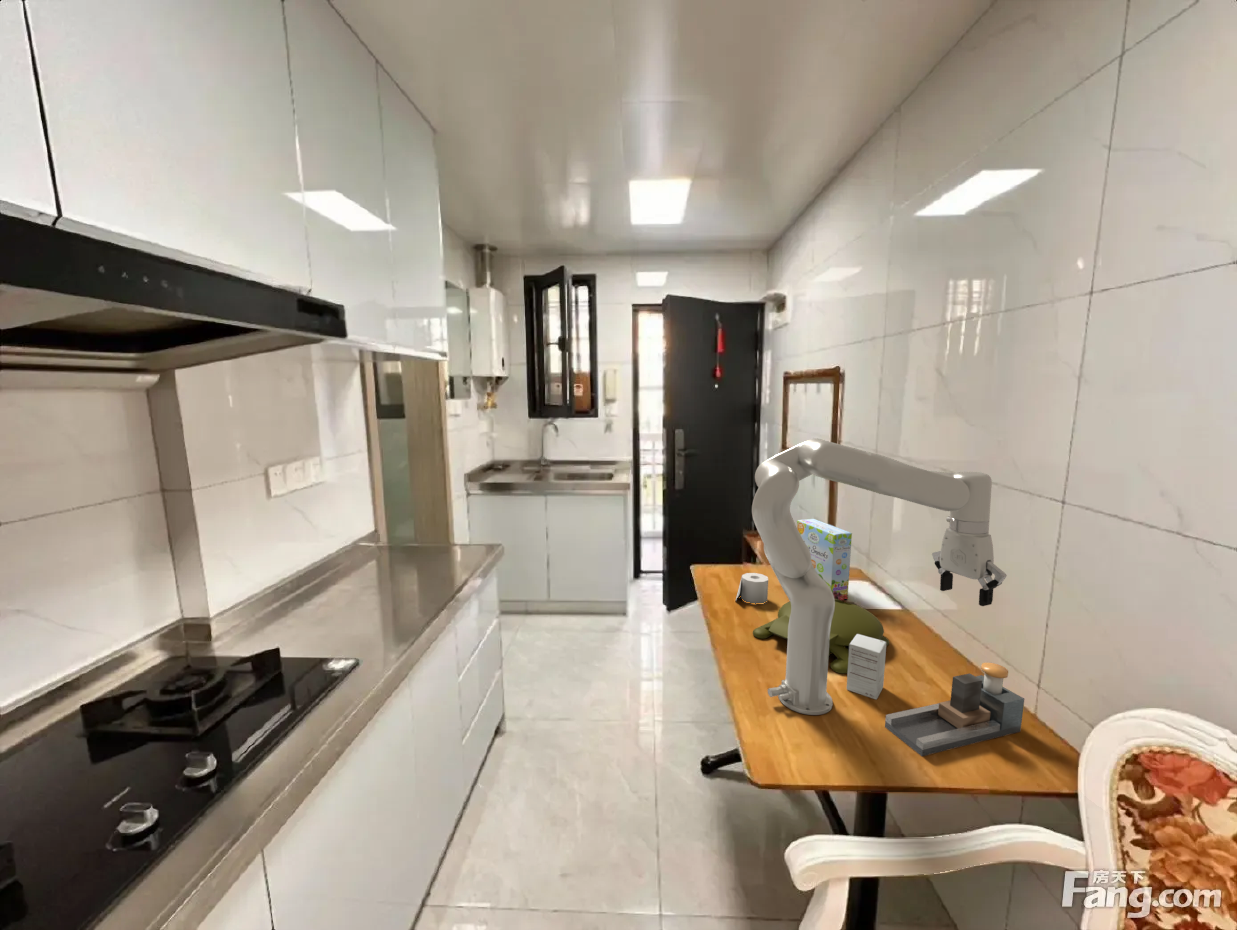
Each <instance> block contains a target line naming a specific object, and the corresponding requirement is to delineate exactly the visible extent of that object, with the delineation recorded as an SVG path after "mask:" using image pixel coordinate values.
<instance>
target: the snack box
mask: <svg viewBox="0 0 1237 930" xmlns="http://www.w3.org/2000/svg"><path fill="white" fill-rule="evenodd" d="M796 522H797V523H796V527H797V529H798V531H799V533H800V535H801V537H802V539H803V541H804V542H805V544H806V545H807V547H808V549H809V551H810V554H811V563H812V565H813V567H814V569H815V570H816V572H817V573H818V575H819V576H820V577H821V578H822V579H823V580H824V581H825V582H826V583H827V585H828V586H829V587H830V589H831V591H832V593H833V595H834V599H838V600H842V601H845V600H844V599H848V597H849V583H850V570H851V569H850V568H851V566H850V565H851V553H852V538H853V533H852V532H851V531H848V530H846V529H845V530H844V529H842V528H840V527H837V526H834V525H833V524H830V523H826V522H823V521H821V520H817V519H815V518H809V519H808V518H807V519H798V520H796ZM848 600H849V599H848Z"/></svg>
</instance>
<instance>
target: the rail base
mask: <svg viewBox="0 0 1237 930" xmlns="http://www.w3.org/2000/svg"><path fill="white" fill-rule="evenodd" d="M974 676H975V675H974ZM975 677H977V678H979V679H981V680H982V688H981V697H980V706H981V707H983V708H985V709H986V710H988V711H990V712H991V713H990V721H988V722H983V723H979V724H975V725H971V726H967V727H962V728H957V727H955V726H954V725H952V724H951V723H949V722H948V721H946V720H945V719H943V718H942V717H940V716H939V715H938V709H939V703H940V702H938V703H934V704H931V705H930V704H929V705H926V706H921V707H914V708H910V709H907V710H902V711H897V712H893V713H888V714H885V721H884V728H885V729H887V730H888V731H889V732H890V733H892V734H893V735H894V736H896V737H897V738H898V739H899V740H900V741H902V742H903V743H904V744H905V745H906V746H908V747H909V748H911V749H912V750H913V751H914V752H916V753H917V754H918V755H919V756H921V757H925V756H929V755H932V754H936V753H937V754H938V753H941V752H945V751H949V750H952V749H957V748H961V747H965V746H968V745H973V744H976V743H980V742H985V741H989V740H993V739H995V738H1001V737H1004V736H1008V735H1013V734H1017V733H1020V732H1021V730H1022V724H1023V723H1022V720H1023V713H1024V705H1025V698H1024V697H1023V696H1020V695H1019V694H1016V693H1015V692H1013V691H1012V690H1009V689H1008V688H1006V687H1004V686H1002V694H1000V695H993V694H991V693H989V692H988V691H986V690H984V689H983V684H984V675H983V674H981V675H976V676H975Z"/></svg>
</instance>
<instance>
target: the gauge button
mask: <svg viewBox="0 0 1237 930" xmlns="http://www.w3.org/2000/svg"><path fill="white" fill-rule="evenodd" d="M980 667H981V668H980V670H981V671H982V673H983V674H984V675H983V676H984V684H983V689H984V690H986V691H988V692H989V693H991V694H993V695H1000V694H1002V687H1004V686H1003V684H1004V679H1007V678H1008V676H1009V670H1008V668H1006V667H1004V666H1003V665H1000V664H997V663H994V662H982V663H981V666H980Z"/></svg>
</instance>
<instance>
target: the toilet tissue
mask: <svg viewBox="0 0 1237 930" xmlns="http://www.w3.org/2000/svg"><path fill="white" fill-rule="evenodd" d="M738 585H739V586H738V590H737V594H736V598H735V601H737V600H738V599H737V598H739V597H740V596H741V598H739V599H743V600H744V601H746V602H750V603H755V604H756V603H764V602H766V601H767V602H768V596H769V591H768V590H769V577H768V576H767V575H764V574H762V573H756V572H746V573H744V574H741V578H740V582H739V584H738Z"/></svg>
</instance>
